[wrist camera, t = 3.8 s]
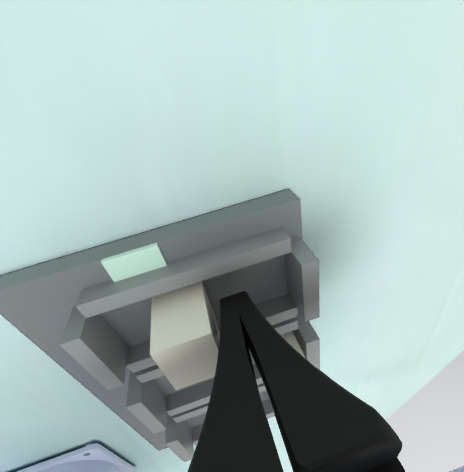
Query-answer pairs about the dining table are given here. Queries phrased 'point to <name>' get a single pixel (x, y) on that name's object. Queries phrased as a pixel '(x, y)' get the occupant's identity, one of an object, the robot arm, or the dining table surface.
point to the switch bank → (158, 282)
